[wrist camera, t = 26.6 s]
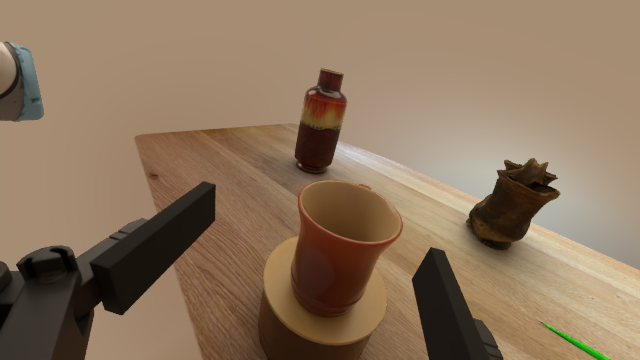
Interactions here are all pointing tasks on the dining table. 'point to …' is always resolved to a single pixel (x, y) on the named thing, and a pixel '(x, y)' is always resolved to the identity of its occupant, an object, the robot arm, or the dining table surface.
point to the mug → (339, 244)
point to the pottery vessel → (512, 203)
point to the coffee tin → (313, 316)
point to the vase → (320, 123)
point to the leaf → (580, 345)
